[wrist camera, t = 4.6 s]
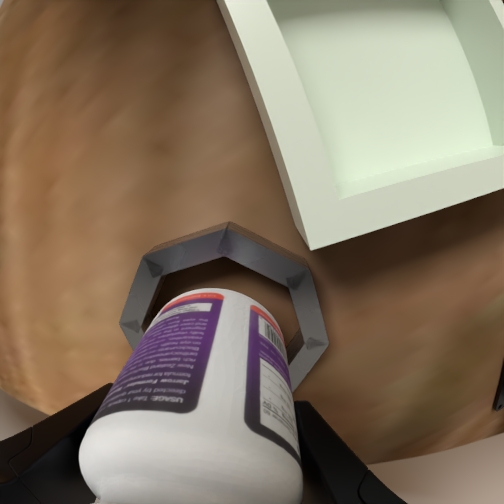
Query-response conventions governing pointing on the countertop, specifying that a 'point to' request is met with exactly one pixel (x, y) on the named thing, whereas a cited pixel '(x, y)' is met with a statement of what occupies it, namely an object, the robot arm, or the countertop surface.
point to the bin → (375, 105)
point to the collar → (248, 254)
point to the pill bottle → (199, 411)
